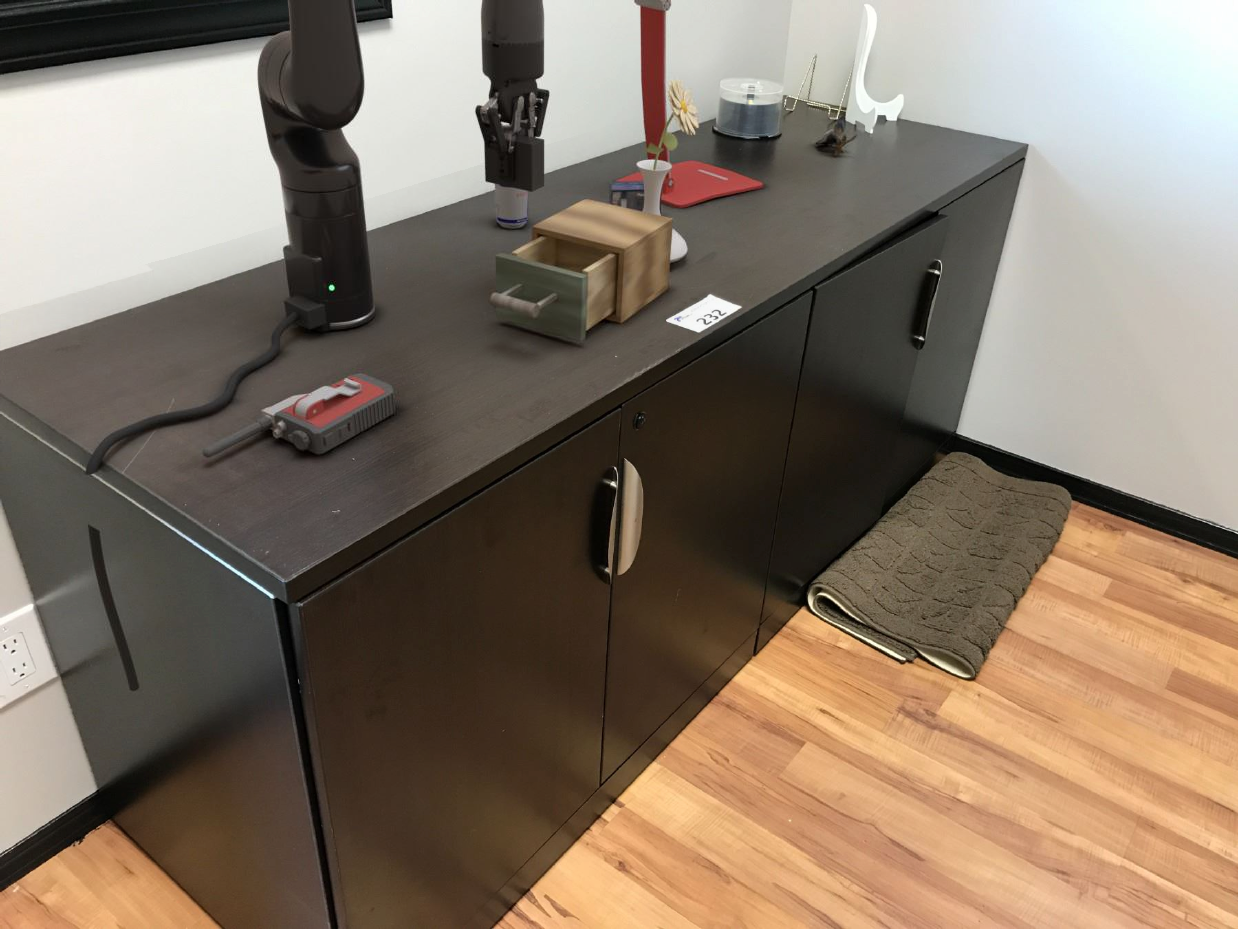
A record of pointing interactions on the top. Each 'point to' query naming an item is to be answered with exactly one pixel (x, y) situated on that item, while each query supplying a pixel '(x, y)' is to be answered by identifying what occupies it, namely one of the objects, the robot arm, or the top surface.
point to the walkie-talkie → (321, 415)
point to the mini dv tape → (628, 194)
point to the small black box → (520, 164)
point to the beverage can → (511, 206)
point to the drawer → (556, 286)
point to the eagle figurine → (836, 136)
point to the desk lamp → (685, 178)
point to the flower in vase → (658, 169)
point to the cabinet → (620, 247)
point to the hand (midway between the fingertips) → (514, 176)
